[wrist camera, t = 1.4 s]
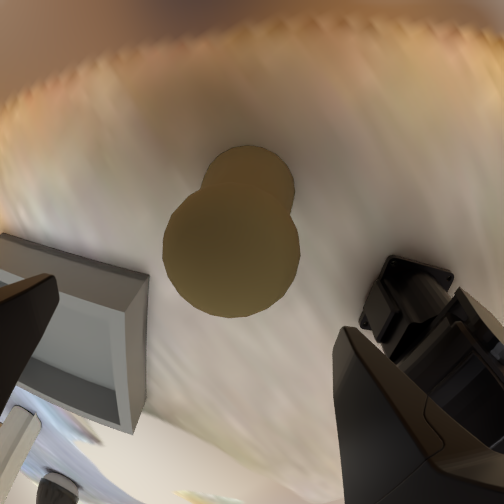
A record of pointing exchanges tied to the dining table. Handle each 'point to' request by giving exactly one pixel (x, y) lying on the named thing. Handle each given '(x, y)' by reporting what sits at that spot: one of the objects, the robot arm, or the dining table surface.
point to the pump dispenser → (56, 490)
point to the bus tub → (86, 334)
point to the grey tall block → (15, 445)
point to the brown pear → (235, 236)
